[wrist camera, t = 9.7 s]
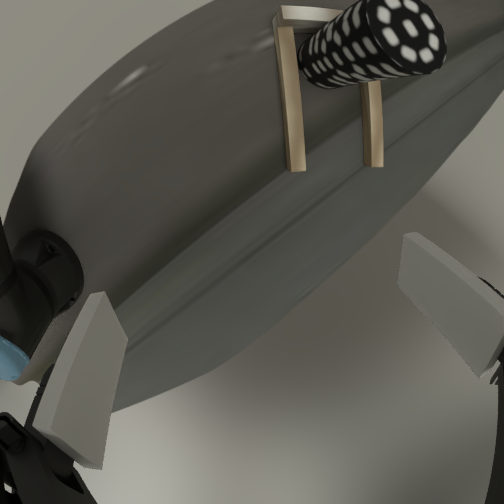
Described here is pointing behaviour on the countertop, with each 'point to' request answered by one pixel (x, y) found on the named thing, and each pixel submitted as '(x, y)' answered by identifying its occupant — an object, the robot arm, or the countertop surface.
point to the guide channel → (284, 29)
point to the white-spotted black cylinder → (374, 44)
